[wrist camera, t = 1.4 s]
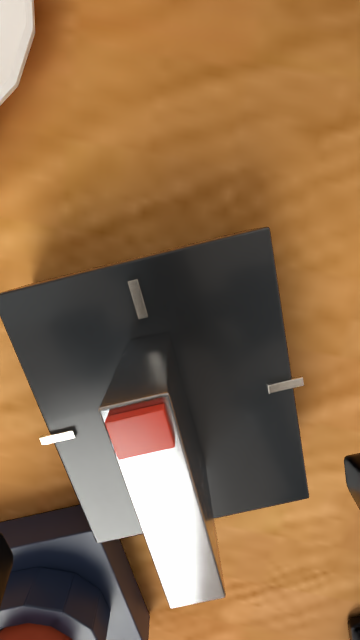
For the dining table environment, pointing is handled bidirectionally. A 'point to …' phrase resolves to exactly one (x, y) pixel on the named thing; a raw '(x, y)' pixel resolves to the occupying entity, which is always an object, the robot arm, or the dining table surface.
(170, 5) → the dining table surface
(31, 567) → the button housing
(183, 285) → the tap console
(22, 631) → the push button
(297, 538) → the dining table surface
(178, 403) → the tap handle
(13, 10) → the plate
